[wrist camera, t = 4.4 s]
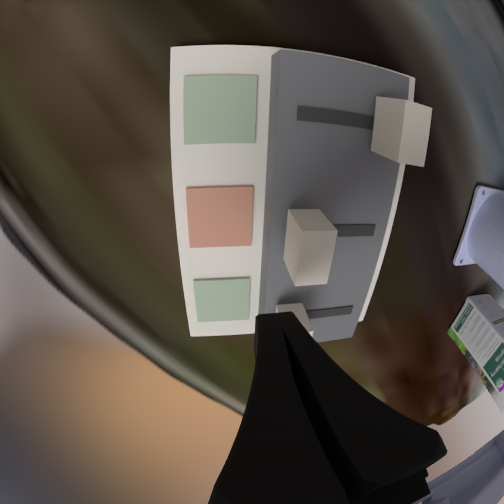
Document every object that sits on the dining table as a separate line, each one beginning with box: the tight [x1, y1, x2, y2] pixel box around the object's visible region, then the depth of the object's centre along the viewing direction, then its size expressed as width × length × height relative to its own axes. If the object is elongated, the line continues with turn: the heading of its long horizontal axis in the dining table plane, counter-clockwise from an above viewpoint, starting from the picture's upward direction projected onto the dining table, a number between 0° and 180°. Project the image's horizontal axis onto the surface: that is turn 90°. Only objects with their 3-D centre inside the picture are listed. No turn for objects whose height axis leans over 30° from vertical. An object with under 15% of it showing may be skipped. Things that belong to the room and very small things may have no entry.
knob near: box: [371, 96, 432, 167], centre depth 11 cm, size 2×3×2 cm, turn 179°
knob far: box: [275, 303, 314, 336], centre depth 16 cm, size 2×3×2 cm, turn 179°
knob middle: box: [283, 209, 338, 286], centre depth 13 cm, size 2×3×2 cm, turn 179°
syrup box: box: [448, 294, 504, 415], centre depth 21 cm, size 6×6×14 cm
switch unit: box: [170, 45, 415, 342], centre depth 16 cm, size 14×19×3 cm
